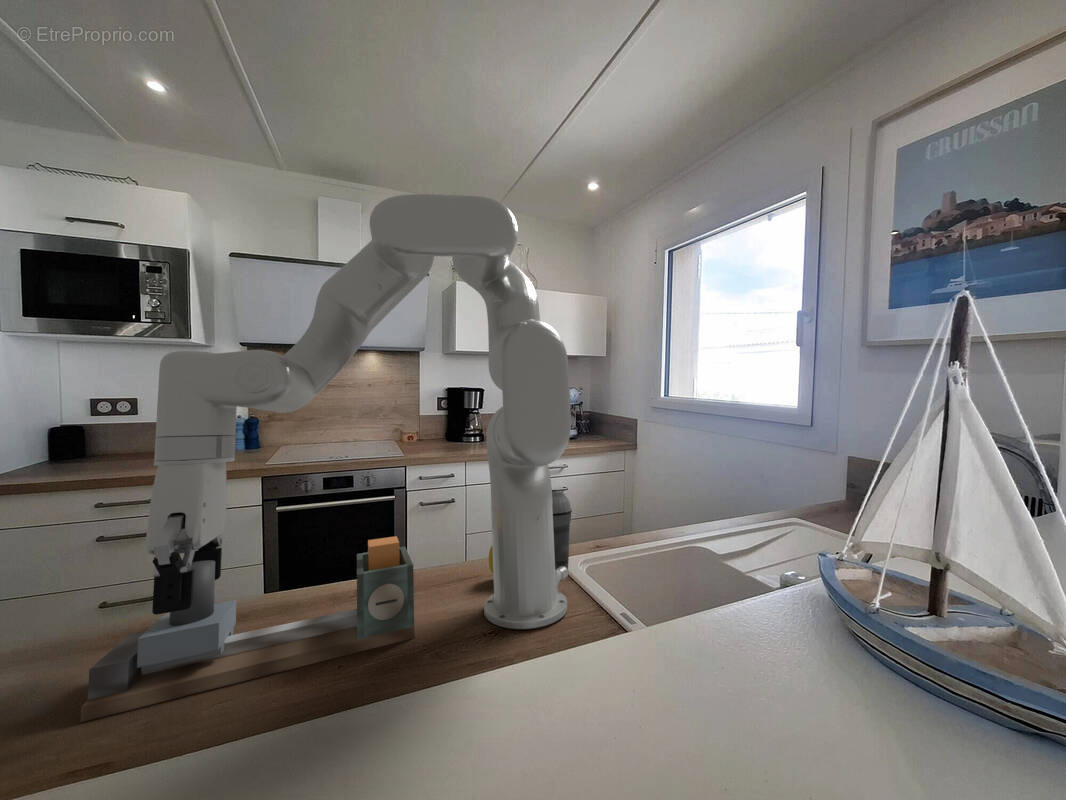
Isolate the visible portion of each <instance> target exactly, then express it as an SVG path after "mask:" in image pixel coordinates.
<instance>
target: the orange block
mask: <svg viewBox="0 0 1066 800" xmlns="http://www.w3.org/2000/svg"><path fill="white" fill-rule="evenodd" d="M399 547H400V541H399V538H398V536H397V535H395V536H389V537H382V538H381V537H380V538H374V539H368V540H367V552H368V571H371V570H377V569H382V568H388V567H394V566H400V556H399Z"/></svg>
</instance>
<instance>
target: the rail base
mask: <svg viewBox="0 0 1066 800" xmlns="http://www.w3.org/2000/svg"><path fill="white" fill-rule="evenodd" d="M399 556H400V566H394V567H388V568H382V569H377V570H371V571H368V551H367V552H362V553H357V554H356V608H355V609H354V608H353V609H349V610H344V611H340V612H335V613H330V614H326V615H321V616H315V617H310V618H307V619H302V620H295V621H292V622H287V623H282V624H278V625H273V626H268V627H263V628H258V629H254V630H249V631H244V632H240V633H239V632H238V633H235V634H233V635H230V636H227V638H226V639H225V641H224V651H223V652H222V654H221V655H217V656H213V657H208V658H204V659H200V660H195V661H191V662H186V663H182V664H177V665H173V666H168V667H164V668H160V669H155V670H151V671H146V672H142V673H141V668H142V667H139V668H137V656H138V638H139V637H141V636H142V635H143V634H144V633H145V632H146V631H147V630H143V631H138V632H133V633H130V634H129V635H127V636H126V637H125V638H124V639H123V640H122V641H121V642H119V643H118V644H117V645H116V646H115V647H113V648H112V649H111V650H109V652H107V654H105V655H104V656H103V657H102V658H100V660H98V661H97V662H96V663H95V664H94V665H92V666H91V667H90V668H89V669H88V686H87V687H88V688H87V690H88V691H87V700H86V701H85V702H84V703H83V704H82V705H81V706H80V723H84V722H88V721H91V720H95V719H100V718H103V717H107V716H111V715H115V714H120V713H124V712H127V711H131V710H135V709H139V708H143V707H148V706H150V705H154V704H159V703H162V702H166V701H172V700H174V699H179V698H184V697H186V696H190V695H194V694H195V695H196V694H198V693H202V692H205V691H210V690H214V689H218V688H219V689H220V688H221V687H225V686H226V687H227V686H229V685H234V684H237V683H238V684H239V683H241V682H245V681H249V680H253V679H254V680H255V679H257V678H258V679H259V678H261V677H266V676H268V675H273V674H277V673H281V672H285V671H289V670H294V669H297V668H301V667H305V666H309V665H313V664H317V663H321V662H325V661H328V660H333V659H337V658H340V657H341V658H342V657H344V656H345V657H346V656H348V655H353V654H357V653H361V652H364V651H369V650H372V649H376V648H381V647H384V646H389V645H391V644H396V643H400V642H404V641H408V640H412V639H415V589H414V587H415V586H414V585H415V584H414V581H415V580H414V579H415V578H414V563H413V561H412V559H411V556H410V554H409V553H408V550H407V548H406V546H401V547H400V546H399Z"/></svg>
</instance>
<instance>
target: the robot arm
mask: <svg viewBox="0 0 1066 800" xmlns="http://www.w3.org/2000/svg"><path fill="white" fill-rule="evenodd" d="M369 230H370V236H371V240H370V241H369V242H368V243H367V244H366V245H365V246H363V248H362V249H360V251H358V252H357V253H356V254H355V255H353V257H352V258H351V259H349V261H348V262H346V263H345V264H344V265H343V266H342V267H341V268H340V269H339V270H337V271H336V272H335V273H333V275H332V276H330V277H329V278H328V279H327V280H326V281H325V282H324V283H323V284H322V285H321V287H320V290H319V292H318V295H317V297H316V301H315V306H314V312H313V317H312V320H311V321H310V323H309V325H308V327H307V329H306V331H305V332H304V333H303V335H302V336H301V337H300V338H299V340H297V342H296V343H295V344H294V345H293V346H292V347H291V348H290V349H289V350H288V351H287V352H286V353H284V354H283V355H282V354H280V353H278V352H274V351H272V350H267V349H249V350H239V351H230V352H229V351H227V352H220V353H217V352H216V353H215V352H209V351H201V350H198V351H197V350H177V351H171V352H168V353H166V354H165V355H164V356H163V357H162V358H161V359H160V363H159V370H158V371H159V373H158V384H157V385H158V387H157V390H158V391H157V405H156V406H157V408H156V424H155V425H156V426H155V442H154V444H155V445H154V459H153V461H154V462H153V466H154V467H157V470H156V474H155V478H154V482H153V485H152V490H151V491H152V492H151V496H150V503H149V510H148V511H149V512H148V520H147V529H146V539H145V548H144V549H145V552H146V553H147V554H148V555H150V556H152V555H153V559H152V564H153V565H154V568H153V572H152V576H153V591H152V593H153V594H152V609H151V610H152V611H151V612H152V614H153V615H162V614H166V613H169V612H175V611H180V610H186V609H188V608H190V607H191V606H192V602H193V580H194V570H190V567H191V563H192V562H198V561H206V560H213V561H215V581H217V580H218V579H220V578H221V576H222V553H223V551H222V550H223V547H222V543H223V538H222V533H223V532H224V530H225V526H226V518H227V489H228V488H227V485H228V484H227V477H228V476H227V463H231V462H235V460H236V459H235V458H236V457H235V456H236V455H235V454H236V433H237V432H236V430H237V428H236V427H237V411H238V409H237V408H238V407H241V408H247V409H255V410H259V411H266V412H267V411H268V412H274V413H280V414H286V413H292V412H295V411H299V410H300V409H302V408H303V407H305V406H306V405H309V403H310V402H312V401H313V399H315V398H316V396H318V395H319V394H320V393H321V392H322V391H323V390H324V389H325V388H326V387H327V386H328V385H329V384H330V383H332V381H333V380H334V379H335V378H336V377H337V375H339V374H340V372H342V370H343V369H344V367H346V365H347V364H348V363H349V362H350V360H351V359H352V357H353V356H354V355H355V353H356V352H357V351H358V350H359V349H360V347H361V346H362V345H363V343H364V342H365V341H366V340H367V338H368V336H369V335H370V333H371V332H373V331H372V330H374V329H375V327H377V326H378V324H380V323H381V322H382V320H384V319H385V317H387V316H388V315H389V314H390V312H391V311H393V309H395V308H396V307H397V306H398V305H399V304H400V302H401V301H403V300H404V299H405V298H406V297H407V296H408V295H409V293H411V292H412V291H413V290H414V289H415V288H416V287H417V286H418V285H419V284H420V283H421V282H422V281H423V280H424V279H425V278H426V277H427V276H428V274H429V272H430V271H431V269H432V267H433V265H434V264H433V263H434V258H435V257H452V266H453V268H454V270H455V272H456V274H457V276H458V277H459V278H460V280H462V281H463V282H464V283H466V284H467V285H468V286H470V287H471V288H472V289H474V290H475V291H476V292H477V294H479V295H480V296H481V298H482V299H483V301H484V304H485V308H486V315H487V316H486V317H487V326H488V327H487V329H488V330H487V331H488V334H487V336H488V372H489V376H490V378H491V380H492V382H493V385H495V387H497V388H498V389H500V390H501V391H502V407H500V408H499V409H497V411H495V412H494V414H492V417H491V418H490V420H489V422H488V424H487V428H486V433H485V436H486V437H485V438H486V439H485V440H486V441H485V442H486V452H487V453H486V454H487V459H488V460H487V461H488V468H489V481H490V482H489V483H490V502H491V503H490V505H491V507H490V509H491V513H490V514H491V537H492V538H491V539H492V540H491V543H492V544H491V546H492V547H493V573H492V575H493V577H492V578H493V594H491V595H490V596H489V597H488V598H487V599H486V600H485V602H484V605H483V611H484V612H483V613H484V616H485V618H486V619H487V620H488V621H489V622H491V623H492V624H494V625H495V626H498V627H502V628H505V629H511V630H532V629H533V630H534V629H539V628H542V627H546V626H549V625H551V624H554V623H556V622H557V621H559V620H561V619H562V618H563V617H564V616H565V615H566V614H567V611H568V599H567V597H566V596H565V595H564V594H563V593H562V592H561V591H560V590H559V588H558V587H559V585H560V582H561V581H563V580H564V579H566V578H567V577H568V576H569V571H568V570H569V569H568V570H567V569H566V568H565V567H564V566H561V567H559V568H557V569H556V570H555V553H554V532H553V510H552V504H553V503H552V490H553V489H552V488H553V487H552V478H551V472H550V467H549V465H550V464H552V463H553V462H556V461H557V460H558V459H559V458H560V457H561V456H562V455H563V454H564V453H565V451H566V449H567V447H568V445H569V441H570V438H571V437H570V436H571V432H572V431H571V429H572V427H571V426H572V418H571V417H572V414H571V413H572V411H571V394H570V392H571V391H570V388H571V387H570V374H569V373H570V372H569V360H568V359H569V358H568V354H567V349H566V346H565V344H564V341H563V339H562V337H561V336H560V334H559V333H558V331H556V329H555V328H554V327H553V326H552V325H550V324H549V323H546V322H544V321H542V320H541V316H540V315H541V313H540V306H539V299H538V294H537V291H536V289H535V286H534V285H533V283H532V281H531V280H530V278H528V276H527V275H526V274H525V272H523V271H522V270H521V269H520V268H519V267H518V266H517V265H516V264H515V263H513V262H512V261H511V260H510V256H511V255H512V253H513V251H514V250H515V246H516V245H517V242H518V238H519V227H518V223H517V220H516V217H515V215H514V214H513V212H512V211H511V210H510V209H509V208H508V207H507V206H506V205H505V204H504V203H502V202H500V201H498V200H497V199H494V198H491V197H486V196H479V195H463V194H462V195H461V194H458V195H457V194H434V193H433V194H432V193H431V194H430V193H427V194H425V193H421V194H420V193H419V194H418V193H416V194H414V193H413V194H402V195H401V194H399V195H395V196H392V197H388V198H386V199H383V200H381V201H379V203H377V205H375V206H374V207H373V209H372V211H371V213H370V216H369ZM182 554H183V557H181V555H182Z"/></svg>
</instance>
